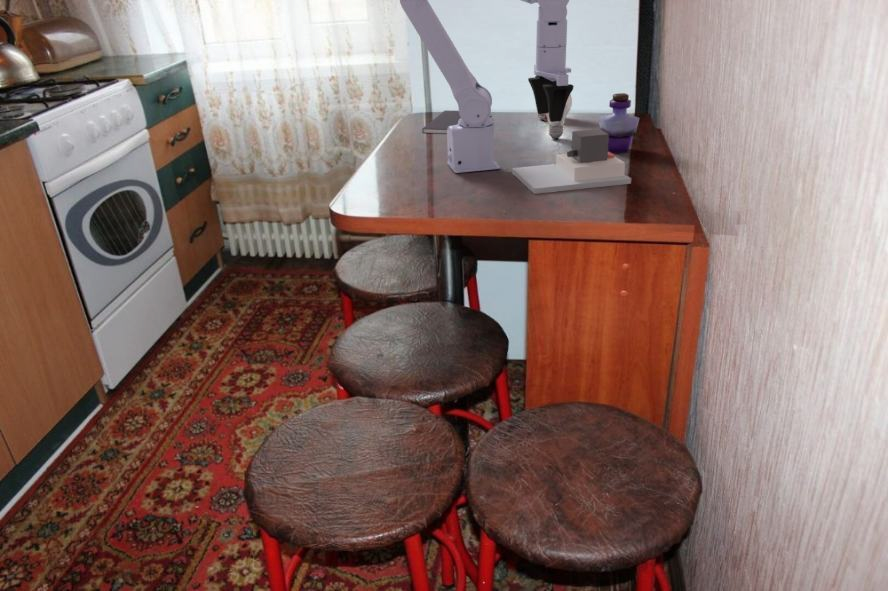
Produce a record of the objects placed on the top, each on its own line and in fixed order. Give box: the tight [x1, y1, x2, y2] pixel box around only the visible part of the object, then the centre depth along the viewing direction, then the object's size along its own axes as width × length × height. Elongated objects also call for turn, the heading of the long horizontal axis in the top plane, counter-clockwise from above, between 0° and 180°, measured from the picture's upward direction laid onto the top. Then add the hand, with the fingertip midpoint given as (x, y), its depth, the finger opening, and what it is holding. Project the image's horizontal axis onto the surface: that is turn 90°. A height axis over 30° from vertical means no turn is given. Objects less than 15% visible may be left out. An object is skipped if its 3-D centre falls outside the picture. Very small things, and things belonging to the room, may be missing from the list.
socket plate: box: [555, 152, 626, 181], centre depth 139 cm, size 10×10×3 cm
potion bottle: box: [598, 92, 641, 154], centre depth 154 cm, size 9×9×12 cm
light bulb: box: [545, 94, 573, 140], centre depth 165 cm, size 7×7×12 cm
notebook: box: [421, 110, 461, 134], centre depth 186 cm, size 13×2×21 cm
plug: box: [566, 128, 609, 163], centre depth 138 cm, size 4×7×6 cm, turn 102°
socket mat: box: [511, 163, 632, 195], centre depth 139 cm, size 19×14×1 cm
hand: (549, 117), depth 144 cm, fingers open, 7 cm apart
